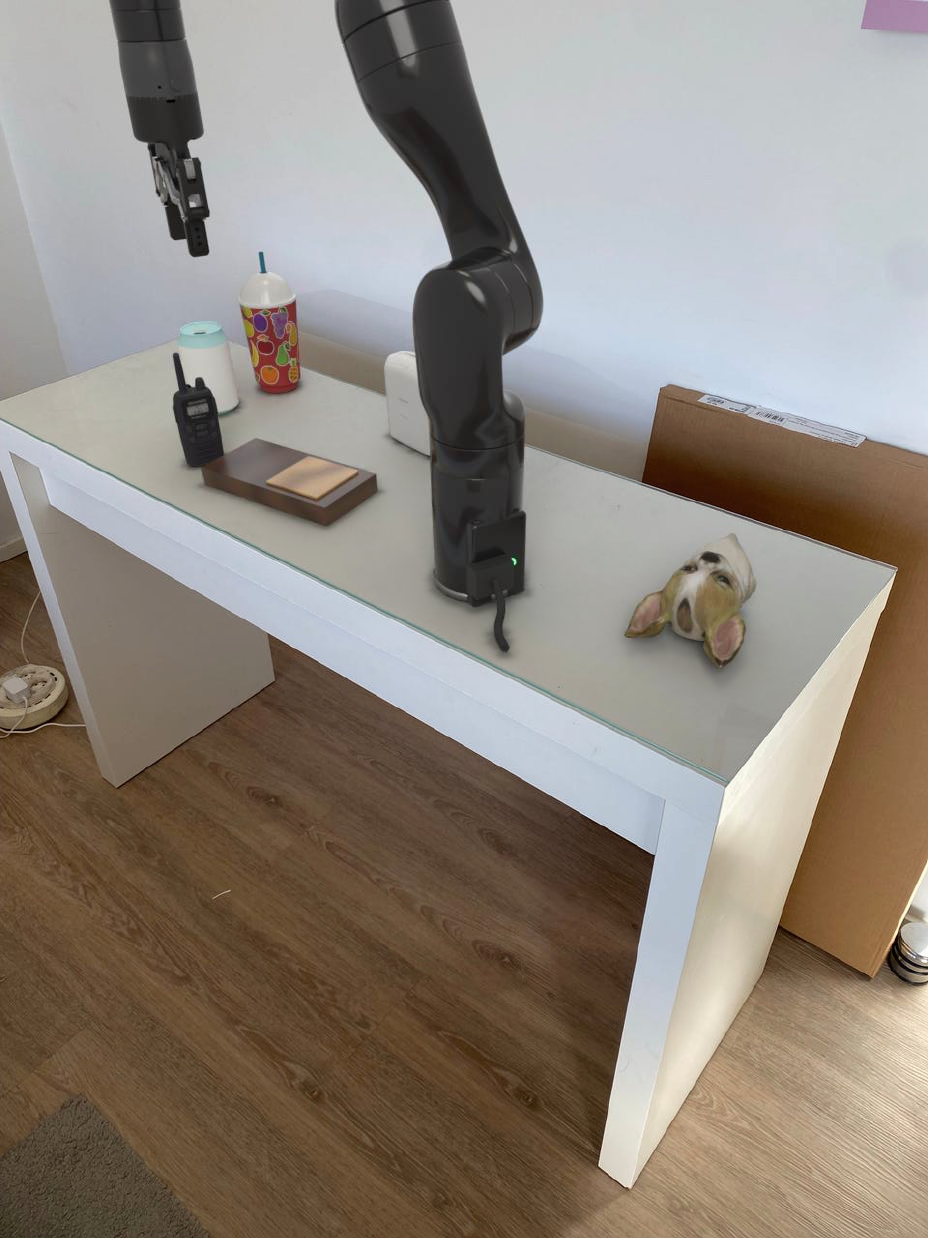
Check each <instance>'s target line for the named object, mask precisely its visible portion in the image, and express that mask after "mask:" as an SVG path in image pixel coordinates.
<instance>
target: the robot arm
mask: <svg viewBox="0 0 928 1238" xmlns="http://www.w3.org/2000/svg"><path fill="white" fill-rule="evenodd" d="M108 3H109V8H110V12H111V13H110V14H111V18H112V22H113V23H112V24H113V28H114V33H115V38H116V42H117V50H118V60H119V69H120V74H121V78H122V84H123V85H122V86H123V90H124V94H125V100H126V104H127V108H128V109H127V110H128V114H129V118H130V119H129V120H130V124H131V128H132V129H131V130H132V134H133V137H134V138H135V139H136V140H137V141H138V142H141V143H145V144H147V151H148V155H149V160H150V164H151V171H152V175H153V176H152V177H153V181H154V186H155V193H156V195H157V197H158V198H159V200H160V203H161V205H162V206H163V207H164V213H165V216H166V222H167V226H168V233H169V237H170V238H171V239H172V240H173V241H182V240H186V246H187V250H188V254H189V256H191V257H192V258H200V257H201V258H202V257H206V256H209V254H210V246H209V240H208V235H207V230H206V224H205V221H206V220H207V218H210V214H211V211H210V208H209V203H208V198H207V192H206V186H205V182H204V181H205V180H204V175H203V169H202V162H201V160H200V157H198V156H195V157H192V156H191V152H190V148H189V147H188V146H189V142H190V141H196V140H198V139H201V138H202V137H203V136H204V134H205V128H204V124H203V123H204V122H203V117H202V111H201V105H200V104H201V103H200V98H199V92H198V87H197V79H196V74H195V69H194V68H195V67H194V63H193V59H192V55H191V51H190V48H189V45H188V40H187V39H188V38H187V34H186V27H185V22H184V15H183V10H182V2H181V0H108ZM333 3H334V4H333V7H334V19H335V24H336V28H337V31H338V36H339V39H340V42H341V44H342V48H343V52H344V54H345V57H346V59H347V63H348V66H349V69H350V71H351V75H352V78H353V81H354V84H355V86H356V90H357V92H358V96H359V97H360V99H361V102H362V105H363V107H364V109H365V111H366V113H367V115H368V117H369V118H370V120H371V122H372V123H373V125H374V126H375V127H376V129H377V130H378V133H380V135H381V136H382V138H383V139H384V140H385V142H387V144H388V145H389V146H390V148H391V149H392V150H393V151H394V152H395V154H396V155H397V156H398V157H399V158H400V159H401V161H402V162H403V163H404V164H405V166H406V167H407V168H408V169H409V171H410V172H411V173H412V174H413V175H414V177H415V178H416V179H417V181H418V182H419V183H420V184H421V186H422V187H423V189H424V190H425V192H426V193H427V195H428V197H429V199H430V201H431V203H432V205H433V207H434V209H435V211H436V213H437V216H438V219H439V222H440V225H441V227H442V230H443V234H444V237H445V239H446V242H447V246H448V249H449V253H450V257H451V259H450V260H448V261H446V262H443V263H441V264H439V265H437V266H434V267H433V268H431V269H430V270H429V271H427V272H426V273H425V274H424V275H423V277H422V278H421V279H420V281H419V283H418V285H417V286H416V289H415V293H414V297H413V304H412V335H413V336H412V338H413V346H414V353H415V358H416V368H417V379H418V388H419V395H420V399H421V402H422V405H423V407H424V410H425V412H426V414H427V416H428V420H429V440H430V456H429V463H430V464H429V465H430V466H429V468H430V492H431V493H430V494H431V514H432V515H431V516H432V539H433V540H432V541H433V542H432V543H433V558H434V559H433V560H434V568H433V581H434V585H435V586H436V587H437V589H438V590H439V591H440V592H441V593H443V594H444V595H446V596H447V597H449V598H452V599H455V600H457V601H461V602H466V603H468V604H469V605H470V606H471V607H473V608H476V607H479V606H482V605H485V604H488V603H490V602H495V603H496V614H495V618H494V623H493V636H494V638H495V641H496V643H497V645H498V646H499V648H500V651H501V652H503V653H504V652H505V653H506V652H508V651H509V650H510V646H509V644H508V642H507V640H506V638H505V636H504V632H503V627H504V626H503V625H504V621H505V616H506V600H505V598H507V597H510V596H513V595H517V594H519V593H522V592H524V591H525V575H526V574H525V572H526V571H525V570H526V540H527V539H526V538H527V513H526V512H525V510H524V479H525V478H524V477H525V476H524V475H525V474H524V473H525V472H524V471H525V445H526V406H525V403H524V400H522V397H520V396H519V395H518V394H517V393H516V392H514V391H513V390H510V389H508V388H504V374H503V357H504V356H505V355H507V354H508V353H510V352H513V351H514V350H516V349H518V348H519V347H521V346H522V345H524V344H525V343H527V342H528V341H529V340H531V339H532V338H533V336H534V335H535V334H536V332H537V331H538V330H539V327H540V325H541V323H542V319H543V315H544V305H545V304H544V292H543V287H542V286H543V285H542V281H541V278H540V275H539V272H538V269H537V266H536V263H535V260H534V257H533V255H532V253H531V249H530V248H529V244H528V243H527V239H526V237H525V235H524V232H523V230H522V228H521V224H520V222H519V219H518V217H517V215H516V212H515V209H514V206H513V205H512V202H511V200H510V196H509V193H508V191H507V189H506V185H505V183H504V180H503V178H502V175H501V172H500V169H499V166H498V165H499V164H498V163H497V162H498V161H497V159H496V155H495V152H494V149H493V145H492V142H491V137H490V135H489V132H488V129H487V126H486V122H485V119H484V115H483V111H482V109H481V106H480V102H479V99H478V96H477V92H476V89H475V86H474V82H473V79H472V75H471V71H470V67H469V63H468V58H467V55H466V50H465V47H464V44H463V40H462V37H461V33H460V29H459V27H458V23H457V20H456V16H455V12H454V8H453V5H452V2H451V0H333ZM191 203H194V204H195V206H191Z"/></svg>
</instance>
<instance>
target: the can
mask: <svg viewBox="0 0 928 1238" xmlns="http://www.w3.org/2000/svg"><path fill="white" fill-rule="evenodd" d="M178 330H179V331H178V332H179V336H178V338H177V340H176V343H177V349H178V354H179V357H180V361H181V365H182V369H183V373H184V378H185V382H186V384H189V385H191V387H195V379H196V378H197V377H202V378H203V380H204V383H205V386H206V387H208V388H209V389H210V390H211V392H212V394H213V396H214V398H215V400H216V405H217V410H218V416H220V415H224V414H227V413H229V412H231V411H232V410H234V409H235V408H236V407H237V405H239V402H240V401H239V395H238V389H237V383H236V375H235V370H234V366H233V365H234V364H233V360H232V359H233V358H232V352H231V347H230V342H229V336H228V334H227V333H226V332H225V331H224V330H223V329H222V324H220V323H219V322H216V321H210V320H209V321H208V320H207V321H205V320H203V321H202V320H201V321H195V322H190V323H187V324H184V325H183V326H181V327H180V328H179V329H178Z"/></svg>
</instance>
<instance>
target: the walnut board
mask: <svg viewBox="0 0 928 1238" xmlns="http://www.w3.org/2000/svg"><path fill="white" fill-rule="evenodd" d="M200 470H201V474H202V478H203V484H204V486H207V487H209V488H212V489H215V490H219V491H221V492H224V493H227V494H230V495H233V496H236V497H239V498H242V499H245V500H248V501H251V502H254V503H257V504H260V505H263V506H265V507H267V508H272V509H275V510H277V511H280V512H284V513H287V514H290V515H292V516H295V517H299V518H301V519H304V520H308V521H310V522H313V523H316V524H319V525H322V526H325V527H328V526H330V525H331V524H332V523H334V522H335V521H337V520H339V519H340V518H342V517H343V516H345V515H346V514H348V513H349V512H350V511H352V510H353V509H354V508H356V507H357V506H359V505H360V504H362V503H363V502H364V501H365V500H368V499H369V498H370V497H372V496H373V495H374V494H376V493H378V491H379V489H378V488H379V487H378V478H377V477H378V476H377V473H376V472H373V471H369V470H366V469H363V468H359V467H355V466H353V465H348V464H345V463H342V462H338V461H336V460H332V459H329V458H325V457H322V456H319V455H315V454H311V453H308V452H304V451H301V450H298V449H294V448H291V447H288V446H285V445H281V444H278V443H275V442H271V441H268V440H264V439H261V438H257V437H254V438H253V439H251V440H249V441H247V442H245V443H243V444H242V445H240V446H237V447H236V448H235V449H232V450H231V451H229V452H227V453H224V455H223V456H221V457H220V458H218V459H216V460H214V461H212V462H210V463H208V464H204V465H202V466H201V467H200Z"/></svg>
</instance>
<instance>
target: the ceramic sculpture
mask: <svg viewBox="0 0 928 1238" xmlns="http://www.w3.org/2000/svg"><path fill="white" fill-rule="evenodd" d="M756 588H757V580H756V578H755V576H754V572H753V568H752V565H751V562H750V560H749V558H748V556H747V554H746V551H745V550H744V548H743V546H742V545H741V543H740V541H739V540H738V537H737V534H736V533H734V532H731V533H728V534H727V535H725V536H724V537H721V538H718V539H715V540H713V541H710V542H707V544H705V545H703V546H702V547H701V548H699V549H697V550H696V551H695V552H694V553H693V554H692V555H691V556H690V558H688V559H687V560H685V561H684V563H683V565H682V566H681V567H679V568H678V569H676V570H675V571H674V573H672V575H671V577H670V578H669V580H668V581H667V583H666V584H665V586H664V587H663V588H662V590H659V591H656V592H651V593H649V594H647V595H646V596H645V597H644V598H643V600H642V601H641V602H639V603H638V604H637V605H636V607H635V610H634V613H633V615H632V617H631V619H630V622H629V625H628V627H627V629H626V630H625V632H624V637H625V638H627V639H644V638H652V637H656V636H658V635H660V634H661V633H663V631H664V628H665V627H666V625H668V627H669V628H670V630H671V631H672V632H674V633H675V634H677V635H679V636H680V637H682V638H685V639H688V640H691V641H692V640H694V641H697V642H698V641H699V642H703V644H702V648H703V652H704V653H705V655H706V656H707V657H708V658H709V660H710V661H711V662H712V663H713V664H714V666H715V667H716V668H717V669H720V670H721V669H722V668H724V667H726V666H727V665H728V664H730V663H731V662H733V660H734V659H735V657H736V656H737V655H738V653H739V652H740V649H742V646H743V644H744V642H745V634H746V632H747V625H746V621H745V620H744V619H743V617H742V616H741V613H740V609H742V606H743V604H745V603H746V602H747V601H749V600H750V599H751V598H752V596H753V594H754V593H755V591H756Z"/></svg>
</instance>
